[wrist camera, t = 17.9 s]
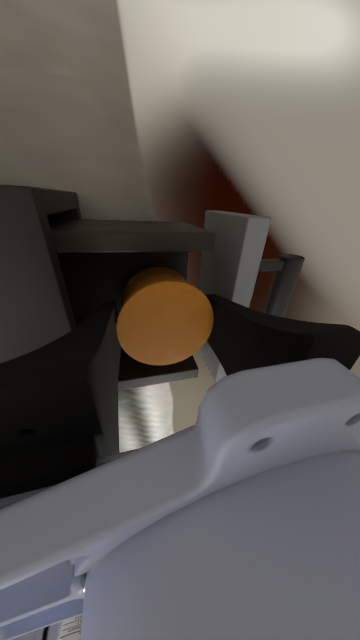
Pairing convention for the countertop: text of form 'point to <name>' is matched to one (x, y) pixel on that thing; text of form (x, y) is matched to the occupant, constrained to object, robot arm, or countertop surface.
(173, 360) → the cylinder
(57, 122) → the countertop surface
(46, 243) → the black drawer unit
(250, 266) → the pod drawer
